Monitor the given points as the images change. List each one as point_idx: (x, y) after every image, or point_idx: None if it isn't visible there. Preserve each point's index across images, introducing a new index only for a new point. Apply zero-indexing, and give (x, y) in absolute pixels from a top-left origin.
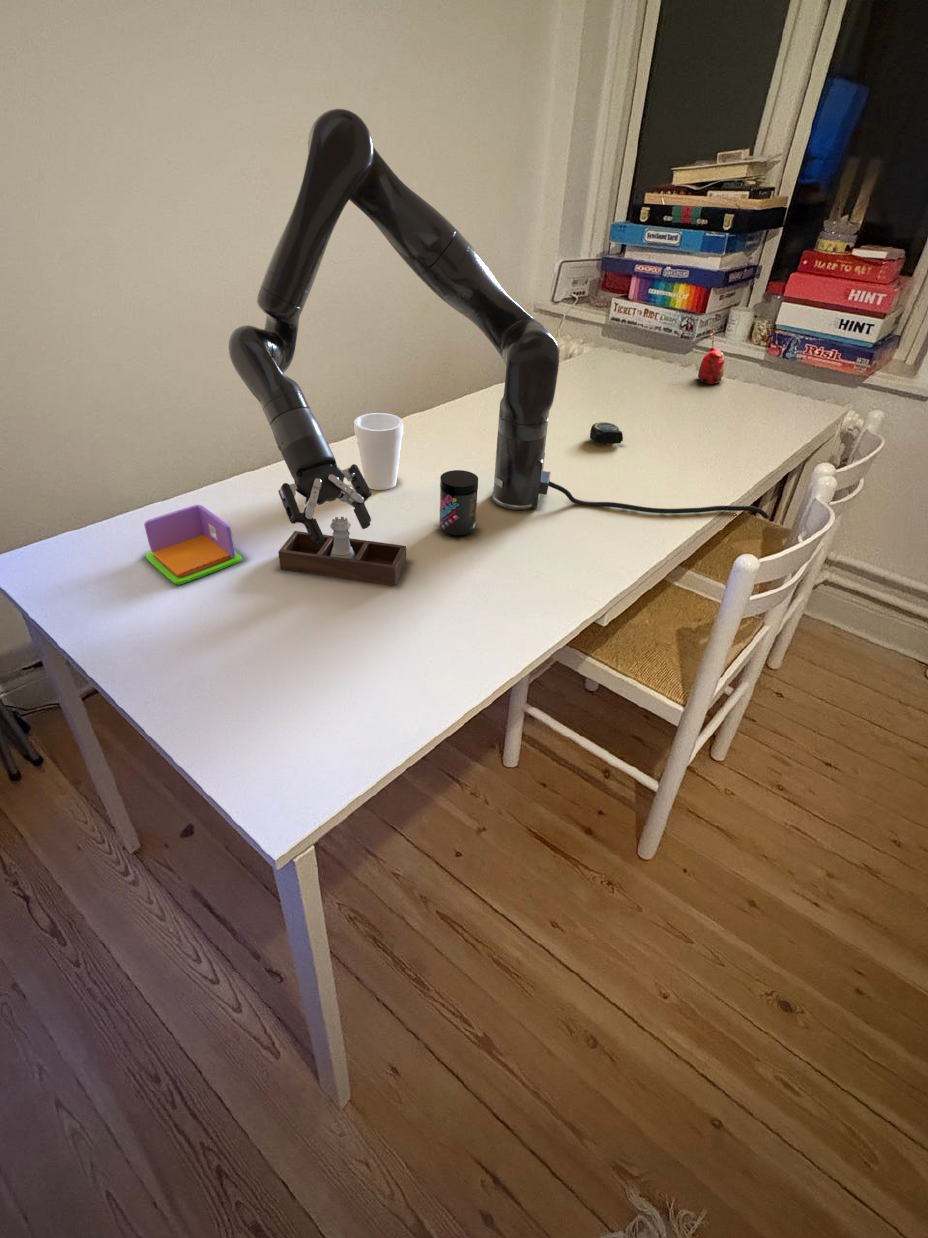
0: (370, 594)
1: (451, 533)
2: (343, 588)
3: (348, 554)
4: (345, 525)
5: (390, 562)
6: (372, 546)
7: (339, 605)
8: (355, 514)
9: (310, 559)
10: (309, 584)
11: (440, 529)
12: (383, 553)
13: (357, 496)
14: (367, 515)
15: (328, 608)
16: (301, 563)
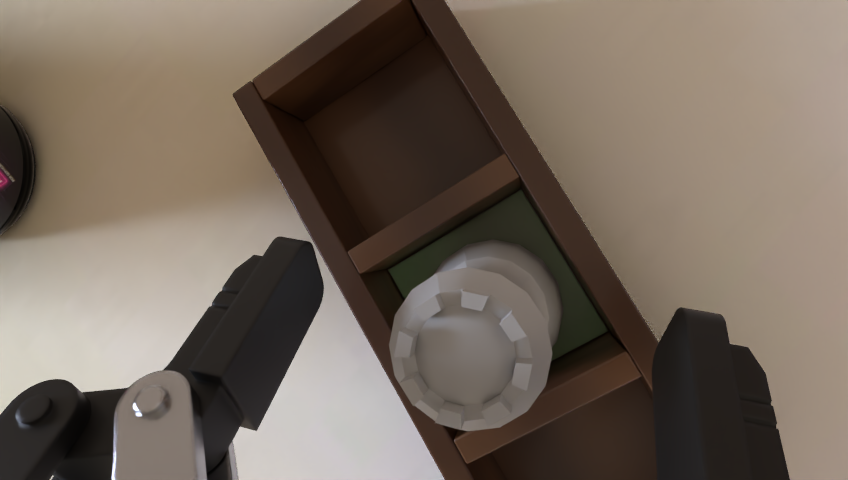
0: (566, 32)
1: (14, 135)
2: (625, 155)
3: (491, 259)
4: (464, 287)
5: (334, 155)
6: (343, 233)
7: (740, 54)
8: (275, 393)
9: None
10: (727, 298)
11: (21, 203)
12: (328, 186)
13: (144, 441)
14: (236, 292)
15: (801, 68)
16: None
